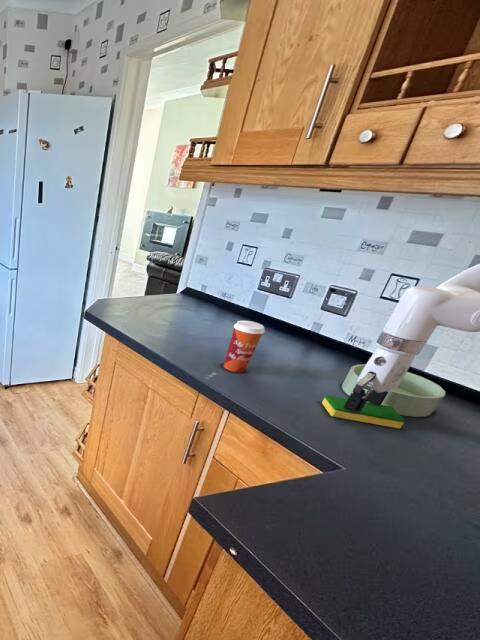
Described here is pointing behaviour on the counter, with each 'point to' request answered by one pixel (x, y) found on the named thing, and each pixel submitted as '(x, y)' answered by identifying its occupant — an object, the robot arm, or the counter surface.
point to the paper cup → (242, 345)
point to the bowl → (404, 393)
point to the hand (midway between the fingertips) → (361, 406)
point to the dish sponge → (364, 412)
